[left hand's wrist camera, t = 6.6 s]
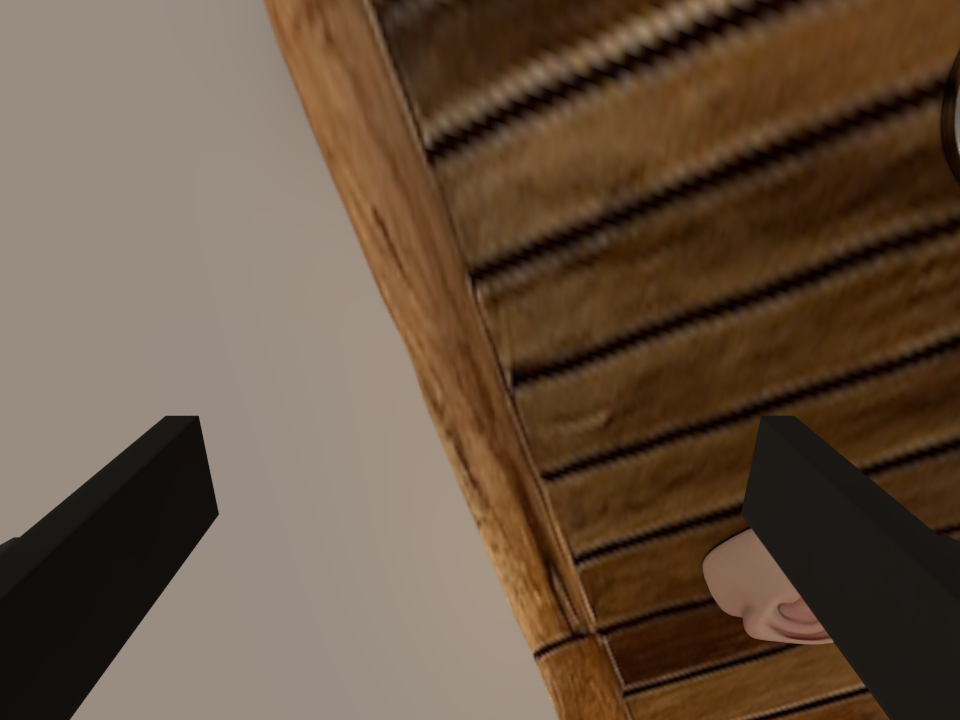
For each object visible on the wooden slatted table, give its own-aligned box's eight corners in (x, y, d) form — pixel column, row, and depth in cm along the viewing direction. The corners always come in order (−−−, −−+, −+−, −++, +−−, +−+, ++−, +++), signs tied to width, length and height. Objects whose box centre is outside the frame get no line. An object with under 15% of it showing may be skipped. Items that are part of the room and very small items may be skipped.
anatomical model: (695, 614, 43) (810, 520, 40) (678, 577, 47) (782, 488, 43) (804, 689, 46) (919, 607, 43) (780, 649, 49) (884, 570, 46)
